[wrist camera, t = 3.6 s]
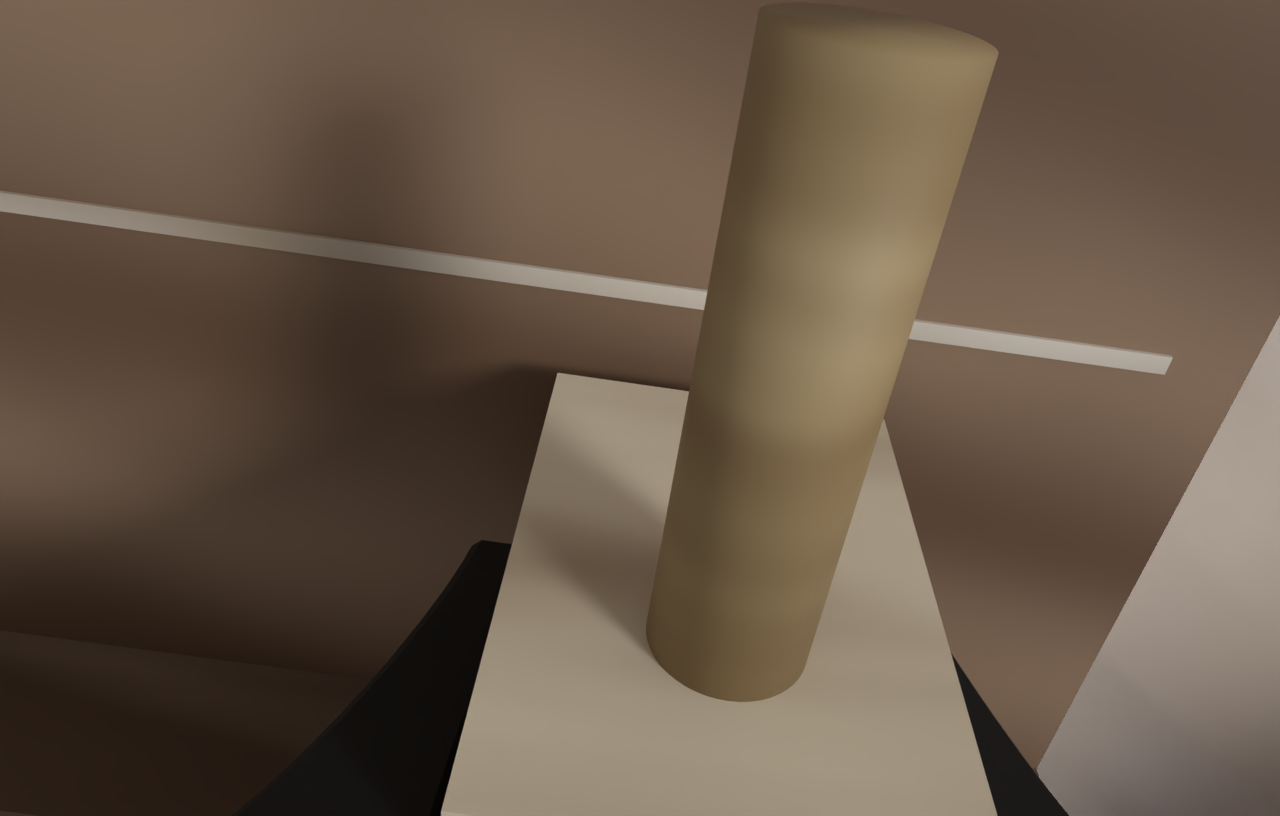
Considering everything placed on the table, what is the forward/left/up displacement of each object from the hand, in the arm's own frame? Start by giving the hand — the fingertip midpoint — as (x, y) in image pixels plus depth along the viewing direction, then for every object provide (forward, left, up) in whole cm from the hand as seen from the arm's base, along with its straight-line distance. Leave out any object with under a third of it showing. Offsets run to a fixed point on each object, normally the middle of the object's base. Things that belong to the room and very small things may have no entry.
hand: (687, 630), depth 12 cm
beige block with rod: (+3, 0, -1) cm, 3 cm away
